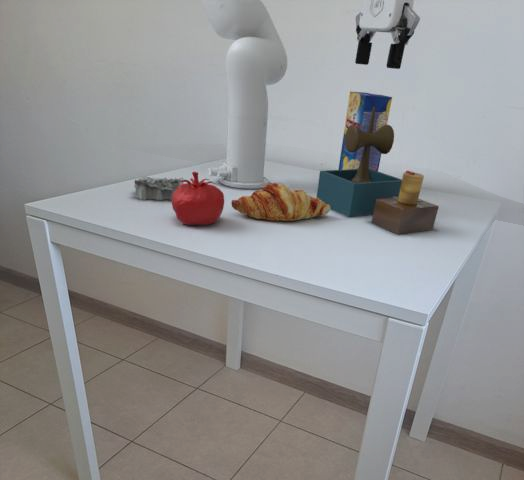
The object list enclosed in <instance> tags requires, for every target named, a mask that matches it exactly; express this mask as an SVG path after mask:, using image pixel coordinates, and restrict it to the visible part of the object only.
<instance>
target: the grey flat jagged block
mask: <svg viewBox="0 0 524 480" xmlns="http://www.w3.org/2000/svg"><path fill="white" fill-rule="evenodd" d="M179 180H180V181H182V180H184V177H180V178H176V177H175V178H167V177H164V178H158V177H157V178H153V177H149V176H142V177H140V178H138V179H135V180H134V186H133V187H134V190H135V198H136V199H139V200H144V201H146V200H150V199H151V200H156V201H164V200H169V201H172V196H173V193H174V191H175V190H176V189H177V187H178V186H180V185H182V184H184V182H180V181H179Z"/></svg>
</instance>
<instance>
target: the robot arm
mask: <svg viewBox="0 0 524 480" xmlns="http://www.w3.org/2000/svg"><path fill="white" fill-rule="evenodd" d="M199 2H200V4H201V7H202V8H203V11H204V12H205V15H206V17H207V19H208V21H209V22H210V26H211V27H212V29H213V31H214V32H215V34H216V35H218V37H221V38H222V39H226V40H231V41H234V42H233V43H231V45H230V46H229V48H228V50H227V53H226V56H225V73H226V82H227V99H228V100H227V101H228V102H227V137H226V138H227V140H226V141H227V142H226V162H222V165H221V166H219V167H209V168H208V169H207V173H208V176H209V177H218V178H219V182H220V183H221V184H222V185H224V186H227V187H230V188H235V189H236V188H237V189H246V190H254V189H255V190H256V189H263V187H265V186H266V185H268V184H269V183H270V179H269V178H268V177H265V176H264V175H265V159H266V148H267V147H266V145H267V131H268V119H269V117H268V116H269V96H268V91H267V86H272V85H276V84H278V83H279V82H280V81H281V80H282V79H283V78H284V77H285V75H286V72H287V70H288V56H287V52H286V51H287V50H286V48H285V46H284V44H283V42H282V39H281V37H280V35H279V33H278V31H277V30H278V29H276V26H275V24H274V22H273V20H272V17H271V15H270V12H269V11H268V9H267V7H266V6H265V4H264V3H263V1H262V0H199ZM414 2H415V0H363V1H362V5H361V9H360V10H361V11H360V12H359V13H358V14H357V15H356V16H355V26H356V28H355V32H356V35H357V36H356V41H357V42H358V43H357V49H356V55H355V59H354V60H355V61H354V63H355V64H356V65H363V66H364V65H366V66H368V65H369V63H370V58H371V51H372V46H373V42H371V40H372V39H373V38H374V37H375V35H376V33H387V34H388V33H389V34H391V38H392V42H393V43H390V45H389V50H388V54H387V55H388V56H387V61H386V68H387V69H396V70H400V69H401V66H402V62H403V56H404V52H405V48H406V46H408V44H409V41H410V39H411V38H412V37H413V36H414V35H415V31H416V29H417V27H418V25H419V23H420V21H421V17H420V16H419V15H418V13H416V11H415V10H414V9H413V8H414Z"/></svg>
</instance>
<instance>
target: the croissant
mask: <svg viewBox="0 0 524 480" xmlns="http://www.w3.org/2000/svg"><path fill="white" fill-rule="evenodd" d="M230 204H231V207H232V209H234V211H238V212H239V213H240V214H242V215H243V214H244V215H246V216H248V217H250V218H254V219H257V220H259V219H262V220H267V221H273V222H274V221H275V222H278V221H283V222H293V221H299V220H302V219H305V220H307V219H311V218H314V217H322V216H325V215H327V214H328V213H329V212H330V210H331V208H330V205H329V204H325V203H324V202H323V201H322V200H320V199H319V198H317V197H313V196H311V195H310V194H307V192H306V191H304V190H303V189H293V191H292V190H291V189H290V187H288V185H286V184H283V183H276V182H272V183H270V182H269V184H268V185H266V186H265V187H263V188H261V190H259V189H258V190H255V191H253V192H252V193H251V194H250V196H249V195H244V196H241V197H239V198H238V199H232V200H231V203H230Z"/></svg>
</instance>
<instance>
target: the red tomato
mask: <svg viewBox="0 0 524 480" xmlns="http://www.w3.org/2000/svg"><path fill="white" fill-rule="evenodd" d="M191 173H192V176H193V177H190V178H189V180H188V179H183V180H182V181H180V180H179V181H180V182H183V184H182V185H180V186H178V187H177V189H176V190H175V191H174V193H173V196H172V200H171V206H172V210H173V211H174V213H175V216H176V218H177V220H178V221H179V222H180V223H181V224H184V225H189V226H202V225H203V226H205V225H212V224H214V223H215V222H217V221H218V220H219V219H220V217H221V215H222V213H223V211H224V207H225V194H224V192H223V191H222V190H221V189H220V188H219V187H217V186H216V183H215V182H213V181H210V179H208V178H204V179H201V180H200V181H199V172H197V171H192V172H191Z"/></svg>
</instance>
